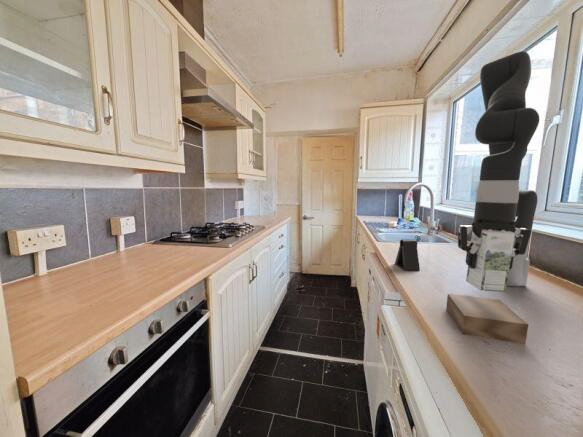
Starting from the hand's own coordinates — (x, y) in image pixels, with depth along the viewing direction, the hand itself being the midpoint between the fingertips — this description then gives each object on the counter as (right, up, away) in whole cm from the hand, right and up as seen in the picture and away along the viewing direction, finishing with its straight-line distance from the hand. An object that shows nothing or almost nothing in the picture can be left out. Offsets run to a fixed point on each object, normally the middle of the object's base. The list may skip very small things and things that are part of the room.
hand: (487, 268), depth 59 cm
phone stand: (+1, -9, +44) cm, 45 cm away
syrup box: (0, -5, +1) cm, 5 cm away
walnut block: (0, -15, +2) cm, 15 cm away
